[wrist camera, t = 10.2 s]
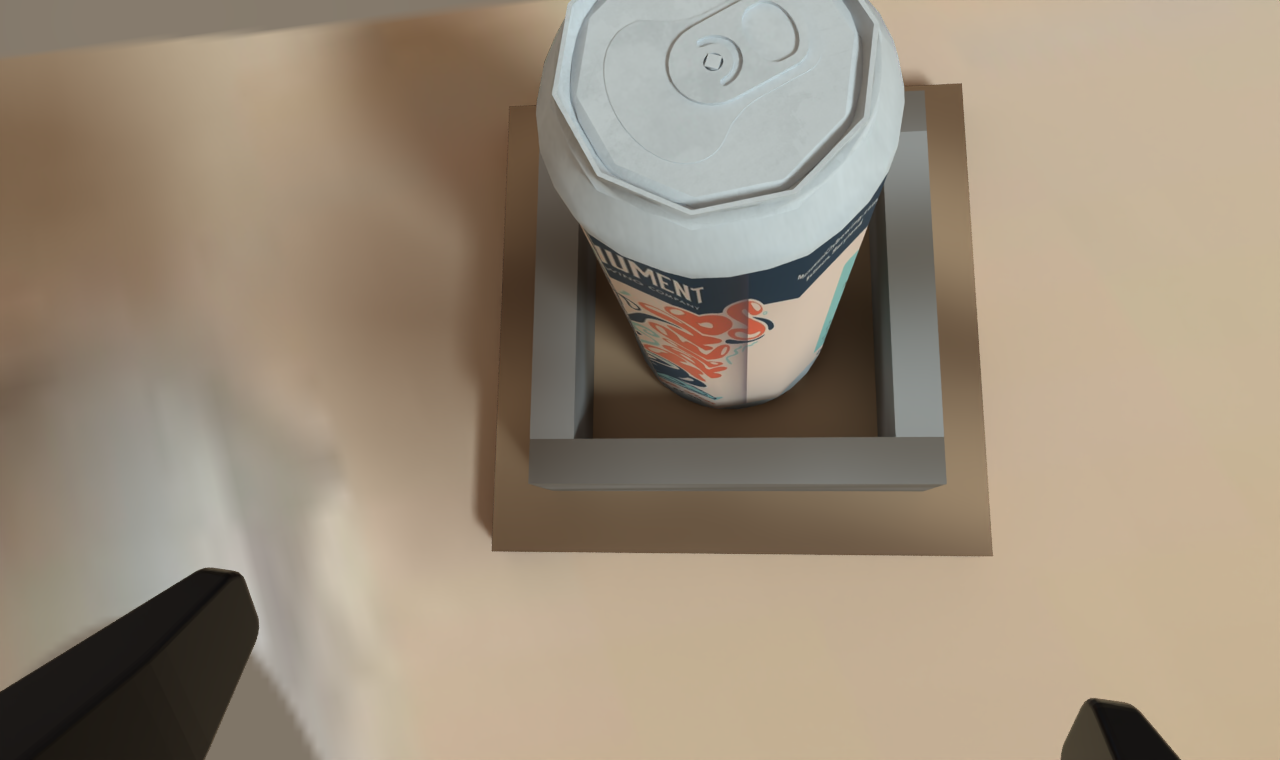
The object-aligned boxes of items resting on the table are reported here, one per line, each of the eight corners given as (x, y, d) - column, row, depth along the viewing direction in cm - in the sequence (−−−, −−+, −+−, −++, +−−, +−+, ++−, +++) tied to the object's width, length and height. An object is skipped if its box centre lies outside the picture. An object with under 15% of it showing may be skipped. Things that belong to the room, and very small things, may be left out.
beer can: (604, 285, 23) (454, 2, 11) (765, 198, 23) (788, -181, 11) (691, 447, 22) (629, 324, 10) (861, 355, 22) (1001, 122, 10)
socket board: (981, 555, 21) (1026, 557, 18) (502, 550, 23) (459, 551, 19) (952, 102, 24) (988, 27, 20) (518, 123, 25) (482, 56, 22)
